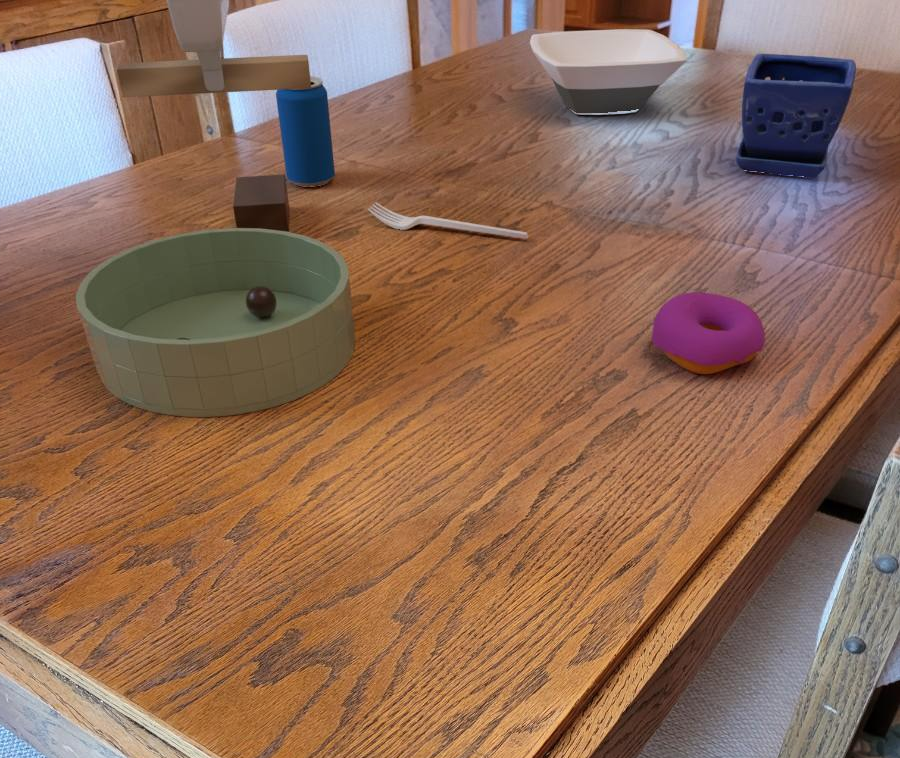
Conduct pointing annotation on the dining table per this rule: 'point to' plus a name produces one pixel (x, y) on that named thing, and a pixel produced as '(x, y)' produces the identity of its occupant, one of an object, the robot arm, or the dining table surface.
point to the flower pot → (792, 112)
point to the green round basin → (218, 321)
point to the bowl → (607, 66)
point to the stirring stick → (236, 73)
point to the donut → (707, 332)
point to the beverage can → (306, 134)
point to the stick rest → (262, 202)
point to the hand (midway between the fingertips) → (216, 84)
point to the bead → (261, 302)
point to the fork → (437, 223)
